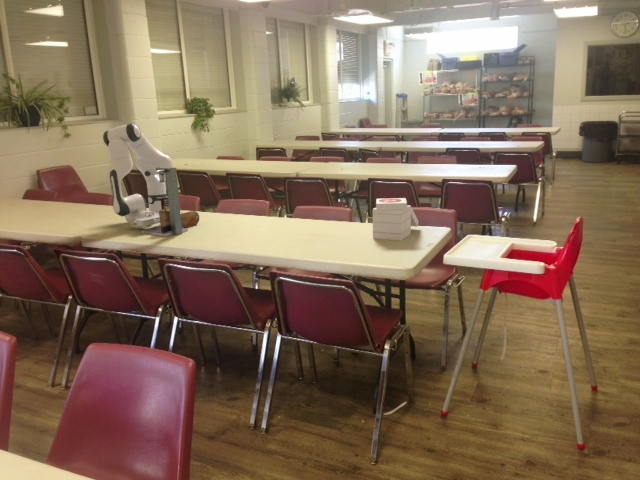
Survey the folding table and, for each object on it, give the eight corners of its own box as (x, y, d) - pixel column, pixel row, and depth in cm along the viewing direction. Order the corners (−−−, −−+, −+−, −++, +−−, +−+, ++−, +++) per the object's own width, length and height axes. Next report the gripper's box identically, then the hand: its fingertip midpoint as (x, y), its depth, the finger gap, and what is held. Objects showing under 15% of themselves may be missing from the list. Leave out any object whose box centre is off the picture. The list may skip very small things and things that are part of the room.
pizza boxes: (421, 228, 303) (422, 195, 299) (403, 241, 277) (403, 205, 273) (387, 226, 312) (387, 193, 307) (366, 238, 286) (366, 203, 282)
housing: (168, 228, 320) (165, 205, 317) (174, 229, 317) (171, 206, 314) (160, 230, 316) (158, 207, 313) (166, 231, 314) (164, 207, 310)
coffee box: (162, 224, 338) (159, 198, 334) (166, 222, 344) (163, 196, 340) (177, 224, 337) (174, 197, 333) (181, 222, 343) (178, 195, 339)
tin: (180, 229, 325) (178, 214, 323) (176, 228, 327) (175, 213, 325) (200, 224, 337) (199, 209, 335) (196, 223, 339) (195, 209, 337)
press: (164, 227, 331) (158, 164, 322) (190, 231, 317) (184, 166, 309) (131, 235, 313) (123, 169, 305) (157, 240, 300) (150, 171, 292)
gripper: (130, 216, 318) (145, 219, 310) (160, 210, 334) (175, 212, 326) (131, 227, 319) (147, 230, 311) (161, 220, 335) (176, 223, 327)
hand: (162, 221), depth 319 cm, fingers closed
